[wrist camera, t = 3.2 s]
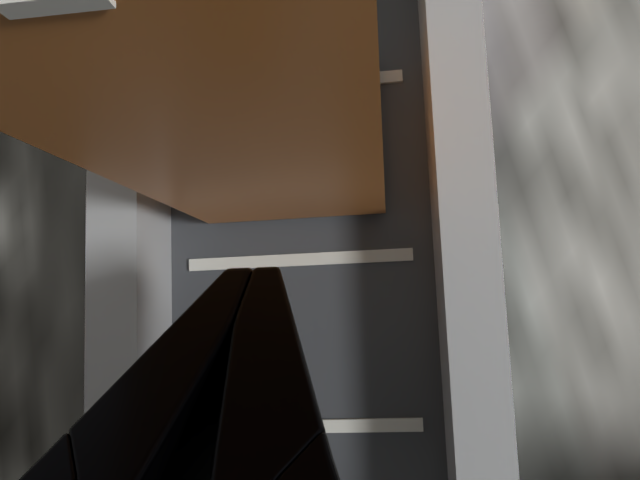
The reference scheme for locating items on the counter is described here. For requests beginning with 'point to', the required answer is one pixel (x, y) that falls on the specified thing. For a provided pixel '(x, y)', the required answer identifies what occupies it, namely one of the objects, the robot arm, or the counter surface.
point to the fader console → (356, 272)
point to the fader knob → (204, 100)
